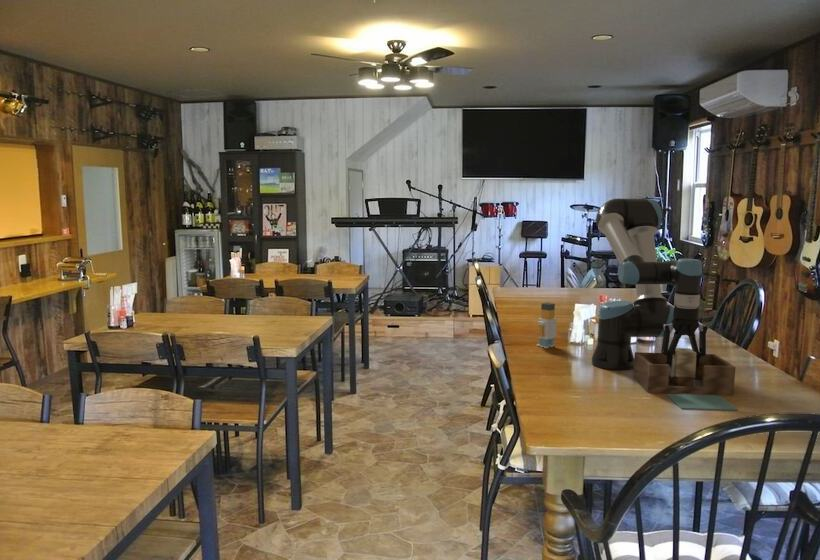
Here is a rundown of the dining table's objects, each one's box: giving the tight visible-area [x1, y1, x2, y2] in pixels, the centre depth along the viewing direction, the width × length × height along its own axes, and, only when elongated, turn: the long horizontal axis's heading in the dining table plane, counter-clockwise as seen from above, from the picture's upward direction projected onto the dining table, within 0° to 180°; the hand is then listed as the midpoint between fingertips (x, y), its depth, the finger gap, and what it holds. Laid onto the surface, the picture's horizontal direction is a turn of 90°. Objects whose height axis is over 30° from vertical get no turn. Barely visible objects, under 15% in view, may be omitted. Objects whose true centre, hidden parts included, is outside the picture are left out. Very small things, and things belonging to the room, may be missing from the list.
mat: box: [666, 393, 738, 412], centre depth 193 cm, size 16×13×1 cm
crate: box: [632, 351, 737, 396], centre depth 209 cm, size 26×16×9 cm, turn 86°
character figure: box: [536, 302, 558, 349], centre depth 263 cm, size 8×10×18 cm
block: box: [673, 347, 696, 377], centre depth 209 cm, size 6×6×8 cm
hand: (681, 376), depth 209 cm, fingers closed on block, 6 cm apart
